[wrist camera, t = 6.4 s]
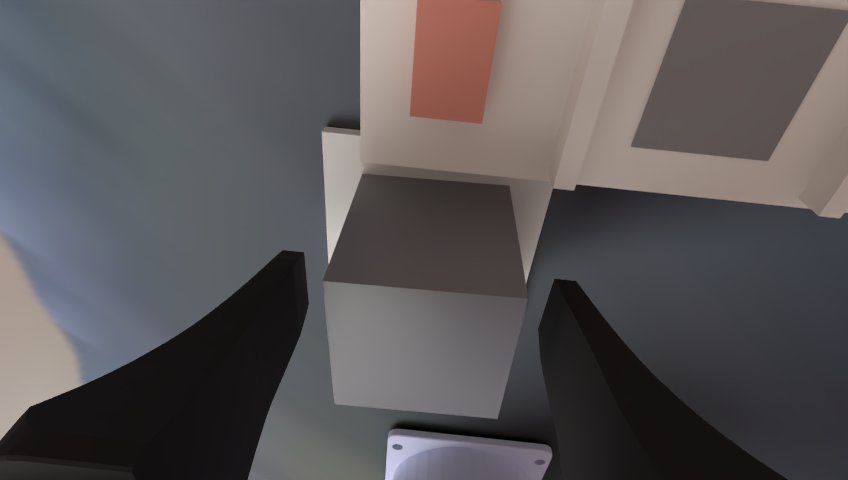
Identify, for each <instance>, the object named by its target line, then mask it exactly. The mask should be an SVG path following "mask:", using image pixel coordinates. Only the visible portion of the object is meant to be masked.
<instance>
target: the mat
mask: <svg viewBox="0 0 848 480" xmlns="http://www.w3.org/2000/svg"><path fill="white" fill-rule="evenodd" d="M322 146H323V165H324V184H325V204H326V223H327V242H328V262H329V263H330V260H331V257H332V254H333V252H334V249H335V246H336V244H337V241H338V238H339V235H340V233H341V230H342V227H343V225H344V222H345V219H346V216H347V214H348V211H349V208H350V206H351V203H352V200H353V197H354V195H355V192H356V189H357V187H358V184H359V181H360V178H361V176H362V174H373V175H385V176H397V177H410V178H422V179H434V180H447V181H459V182H471V183H484V184H496V185H508V186H510V192H511V198H512V204H513V210H514V216H515V222H516V228H517V234H518V240H519V245H520V251H521V257H522V263H523V269H524V275H525V281H526V282H527V278H528V275H529V271H530V268H531V264H532V261H533V257H534V254H535V250H536V247H537V243H538V240H539V236H540V232H541V229H542V225H543V222H544V218H545V215H546V211H547V208H548V204H549V201H550V197H551V193H552V190H553V188H552V185H551V182H548V181H538V180H529V179H519V178H510V177H500V176H490V175H481V174H471V173H462V172H452V171H442V170H433V169H423V168H414V167H404V166H394V165H385V164H375V163H366V162H360V130H354V129H344V128H335V127H324V129H323V131H322Z"/></svg>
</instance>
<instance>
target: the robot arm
mask: <svg viewBox="0 0 848 480" xmlns="http://www.w3.org/2000/svg"><path fill="white" fill-rule="evenodd" d="M308 305H309V302H308V291H307V280H306V269H305V258H304V252H294V251H285V250H283V251H281V252H280V253H279V254H278V255H277V256H276V257H275V258H273V259H272V260H271V261H270V262H269V263H268V264H267V265H266V266H265V267H264V268H263V269H261V270H260V271H259V272H258V273H257V274H256V275H255V276H254V277H253V278H251V279H250V280H249V281H248V282H247V283H246V284H245V285H243V286H242V287H241V288H240V289H239V290H238V291H236V292H235V293H234V294H233V295H232V296H230V297H229V298H228V299H227V300H226V301H224V302H223V303H222V304H220V305H219V306H218V307H217V308H215V309H214V310H213V311H211V312H210V313H209V314H207V315H206V316H205V317H203V318H202V319H201V320H199V321H198V322H197V323H195V324H194V325H192V326H191V327H189V328H188V329H186V330H185V331H183V332H182V333H180V334H179V335H177V336H176V337H174V338H172V339H171V340H169V341H168V342H166V343H164V344H162V345H161V346H159V347H157V348H155V349H154V350H152V351H150V352H148V353H146V354H145V355H143V356H141V357H139V358H138V359H136V360H134V361H132V362H130V363H128V364H126V365H124V366H122V367H120V368H118V369H116V370H114V371H112V372H110V373H108V374H106V375H104V376H102V377H100V378H98V379H95V380H93V381H91V382H89V383H87V384H84V385H82V386H80V387H78V388H75V389H73V390H70V391H68V392H65V393H63V394H61V395H58V396H56V397H53V398H51V399H49V400H46V401H44V402H41V403H39V404H36V405H33V406H31V407H29V409H28V410H27V411H26V412H25V413H24V414H23V415H22V416H21V417H20V418H19V419H18V420H17V422H16V423H15V424H14V425H13V426H12V428H11V429H10V430H9V431H8V432H7V433H6V434H5V436H4V437H3V438H2V439H1V440H0V480H247V479H248V476H249V472H250V469H251V465H252V462H253V459H254V455H255V452H256V448H257V445H258V442H259V439H260V435H261V432H262V429H263V426H264V423H265V419H266V416H267V414H268V411H269V408H270V406H271V403H272V401H273V398H274V396H275V394H276V391H277V389H278V387H279V384H280V382H281V379H282V377H283V375H284V372H285V370H286V368H287V365H288V363H289V361H290V358H291V356H292V354H293V351H294V349H295V346H296V344H297V342H298V339H299V337H300V334H301V330H302V327H303V324H304V320H305V316H306V313H307V309H308ZM538 332H539V347H540V358H541V365H542V370H543V375H544V379H545V384H546V389H547V394H548V398H549V403H550V407H551V412H552V417H553V421H554V426H555V431H556V436H557V442H558V448H559V457H560V466H561V475H562V480H787V479H786V478H784V477H783V476H781V475H780V474H778V473H777V472H775V471H774V470H772V469H771V468H769V467H768V466H766V465H764V464H763V463H761V462H760V461H758V460H757V459H755V458H754V457H753V456H751V455H750V454H748V453H747V452H746V451H744V450H743V449H741V448H740V447H739V446H737V445H736V444H735V443H733V442H732V441H730V440H729V439H728V438H726V437H725V436H724V435H722V434H721V433H720V432H719V431H717V430H716V429H715V428H713V427H712V426H711V425H710V424H708V423H707V422H706V421H705V420H703V419H702V418H701V417H700V416H699V415H697V414H696V413H695V412H694V411H693V410H691V409H690V408H689V407H688V406H687V405H686V404H684V403H683V402H682V401H681V400H680V399H679V398H678V397H677V396H675V395H674V394H673V393H672V392H671V391H670V390H669V389H668V388H667V387H666V386H665V385H664V384H663V383H662V382H661V381H660V380H659V379H658V378H656V377H655V376H654V375H653V374H652V373H651V372H650V371H649V370H648V368H647V367H646V366H645V365H644V364H643V363H642V362H641V361H640V360H639V359H638V358H637V357H636V356H635V354H634V353H633V352H632V351H631V350H630V349H629V348H628V347H627V345H626V344H625V343H624V342H623V341H622V340H621V338H620V337H619V336H618V335H617V334H616V332H615V331H614V330H613V329H612V328H611V326H610V325H609V324H608V323H607V321H606V320H605V319H604V317H603V316H602V315H601V314H600V312H599V311H598V310H597V308H596V307H595V306H594V304H593V303H592V302H591V300H590V299H589V298H588V296H587V295H586V294H585V292H584V291H583V290H582V288H581V287H580V286H579V284H578V283H577V282H576V281H570V280H560V279H554V282H553V285H552V288H551V291H550V294H549V298H548V301H547V304H546V307H545V310H544V313H543V316H542V319H541V322H540V325H539V328H538ZM551 459H552V450H551V448H550V447H549V446H548V445H545V444H538V443H528V442H519V441H510V440H500V439H491V438H482V437H472V436H463V435H454V434H444V433H435V432H426V431H416V430H407V429H393V430H391V431H390V432H389V435H388V444H387V460H386V476H385V480H542V478H543V476H544V474H545V472H546V469H547V467H548V465H549V463H550V461H551Z"/></svg>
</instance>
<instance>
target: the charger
mask: <svg viewBox="0 0 848 480" xmlns="http://www.w3.org/2000/svg"><path fill="white" fill-rule="evenodd" d="M323 290H324V300H325V310H326V321H327V331H328V341H329V352H330V362H331V372H332V383H333V393H334V403H335V404H340V405H351V406H362V407H373V408H384V409H395V410H405V411H416V412H427V413H438V414H449V415H460V416H471V417H482V418H493V419H498V415H499V411H500V408H501V404H502V400H503V396H504V392H505V388H506V384H507V380H508V377H509V373H510V369H511V365H512V361H513V357H514V353H515V349H516V346H517V342H518V338H519V334H520V330H521V326H522V322H523V318H524V314H525V311H526V307H527V303H528V293H527V287H526V281H525V275H524V269H523V263H522V257H521V251H520V245H519V240H518V234H517V228H516V222H515V216H514V210H513V204H512V198H511V192H510V186H508V185H496V184H484V183H471V182H459V181H447V180H434V179H422V178H410V177H397V176H385V175H373V174H362V176H361V178H360V181H359V184H358V187H357V189H356V192H355V195H354V197H353V200H352V203H351V206H350V208H349V211H348V214H347V216H346V219H345V222H344V225H343V227H342V230H341V233H340V235H339V238H338V241H337V244H336V246H335V249H334V252H333V254H332V257H331V260H330V263H329V265H328V268H327V271H326V273H325V276H324V279H323Z"/></svg>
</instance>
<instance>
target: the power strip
mask: <svg viewBox="0 0 848 480" xmlns="http://www.w3.org/2000/svg"><path fill="white" fill-rule="evenodd" d="M360 162H366V163H375V164H385V165H394V166H404V167H414V168H423V169H433V170H442V171H452V172H462V173H471V174H481V175H490V176H500V177H510V178H519V179H529V180H538V181H548V182H551V185H552V188H554V189H563V190H573V191H574V189H575V186H576V184H577V185H586V186H596V187H605V188H615V189H625V190H634V191H644V192H653V193H663V194H673V195H682V196H692V197H701V198H711V199H721V200H730V201H740V202H749V203H759V204H769V205H778V206H788V207H797V208H807V209H811V210H812V211H813V212H815V213H816V214H817V215H818V216H822V217H832V218H841V217H842V215H843V214H844V213H848V0H360Z"/></svg>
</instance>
